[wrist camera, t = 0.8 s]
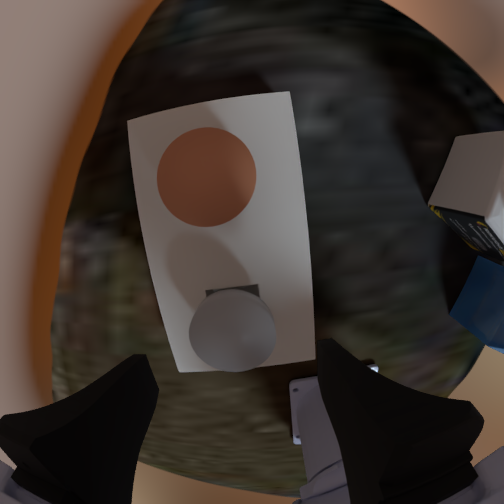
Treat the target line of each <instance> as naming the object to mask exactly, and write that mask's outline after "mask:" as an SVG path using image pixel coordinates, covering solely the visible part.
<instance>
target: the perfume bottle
mask: <svg viewBox="0 0 504 504" xmlns="http://www.w3.org/2000/svg"><path fill="white" fill-rule="evenodd" d="M449 315H450V316H451V317H453V318H454V319H455V320H456V321H458V322H459V323H460V324H461V325H463V326H464V327H465V328H466V329H468V330H469V331H470V332H471V333H472V334H474V335H475V336H476V337H477V338H478V339H480V340H481V341H482V342H483V343H484V344H486V345H487V346H488V347H490V348H492V349H495V350H497V351H499V352H501V353H503V354H504V267H503V266H501V265H499V264H497V263H494V262H492V261H490V260H488V259H485V258H483V257H481V256H478V257H477V259H476V261H475V264H474V266H473V268H472V270H471V272H470V275H469V277H468V279H467V281H466V283H465V285H464V287H463V289H462V291H461V293H460V295H459V297H458V299H457V301H456V302H455V304H454V306H453V308H452V310H451V312H450V313H449Z"/></svg>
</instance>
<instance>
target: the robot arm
mask: <svg viewBox="0 0 504 504" xmlns="http://www.w3.org/2000/svg"><path fill="white" fill-rule="evenodd" d="M295 388H297V389H296V390H293V389H295ZM289 390H290V402H291V415H292V429H293V442H294V443H295V444H301V445H302V451H303V457H304V463H305V469H306V475H307V481H308V484H306V485H304V486H302V487H300V495H301V499H298V500H296V501H294V502H293V503H292V504H504V446H502V447H501V448H499V449H497V450H496V451H494V452H493V453H492V454H490V455H489V456H487V457H486V458H484V459H483V460H481V461H480V462H479V463H478V464H476V465H475V466H474V467H473V466H472V464H471V463H470V461H471V460H472V459H473V456H472V454H471V453H470V451H469V450H470V448H471V447H472V445H473V444H474V442H475V441H476V439H477V438H478V436H479V434H480V433H481V431H482V428H483V425H484V419H483V417H482V415H481V414H480V413H479V412H478V410H477V409H476V408H475V407H474V405H473V404H472V403H471V402H470V401H465V400H456V399H449V398H443V397H438V396H434V395H430V394H426V393H423V392H420V391H417V390H414V389H411V388H408V387H406V386H403V385H401V384H399V383H397V382H394V381H392V380H390V379H388V378H386V377H384V376H383V375H381V374H379V373H378V367H377V365H376V364H372V365H368V366H367V365H365V364H364V363H362V362H361V361H360V360H358V359H357V358H356V357H354V356H353V355H352V354H350V353H349V352H348V351H347V350H346V349H344V348H343V347H342V346H341V345H340V344H338V343H337V342H336V341H335V340H333V339H332V338H330V339H324V340H318V341H317V376H314V377H308V378H302V379H296V380H292V381H291V382H290V383H289ZM158 393H159V388H158V386H157V383H156V381H155V378H154V375H153V373H152V370H151V368H150V365H149V362H148V359H147V357H146V354H134V355H132V356H130V357H129V358H127V359H125V360H124V361H123V362H121V363H120V364H118V365H117V366H116V367H114V368H113V369H112V370H110V371H109V372H107V373H106V374H105V375H103V376H102V377H100V378H99V379H97V380H96V381H94V382H93V383H91V384H90V385H88V386H87V387H85V388H84V389H82V390H80V391H78V392H77V393H75V394H73V395H71V396H69V397H67V398H65V399H63V400H60V401H58V402H55V403H53V404H50V405H48V406H45V407H42V408H38V409H35V410H31V411H26V412H21V413H15V414H7V415H4V416H3V417H2V418H1V419H0V447H1V449H2V450H3V451H4V452H5V453H6V454H7V456H8V457H9V458H10V459H11V460H12V461H13V462H14V463H15V465H16V466H17V468H16V469H15V470H14V469H12V468H11V467H10V466H8V465H7V464H5V463H4V462H2V461H1V460H0V504H131V502H132V491H133V482H134V475H135V470H136V464H137V460H138V455H139V452H140V448H141V445H142V443H143V440H144V437H145V435H146V432H147V429H148V427H149V424H150V421H151V419H152V416H153V413H154V410H155V407H156V403H157V398H158Z"/></svg>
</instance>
